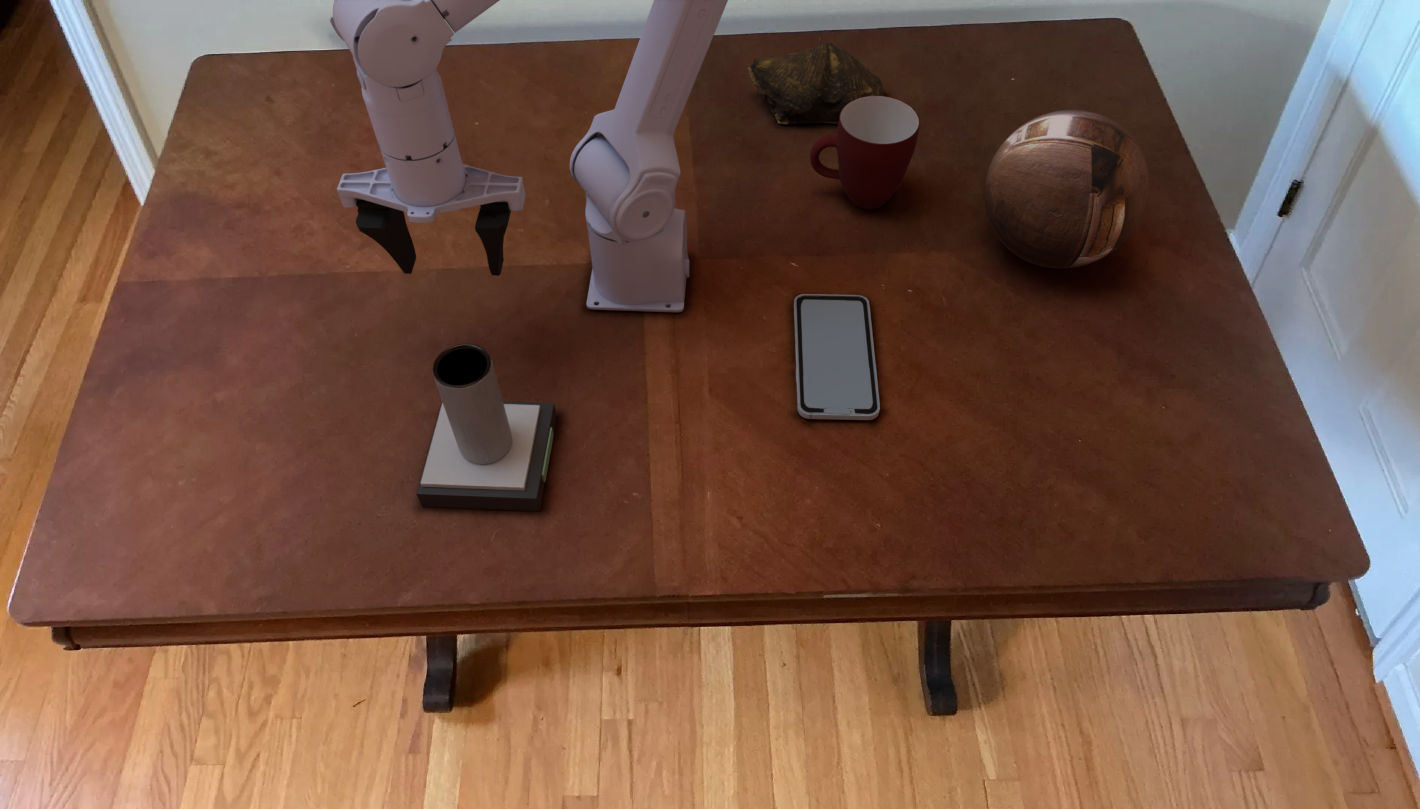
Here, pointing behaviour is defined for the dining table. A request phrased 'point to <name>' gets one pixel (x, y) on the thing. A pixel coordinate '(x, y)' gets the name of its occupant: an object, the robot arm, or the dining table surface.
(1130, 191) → the shiny copper ball
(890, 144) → the mug
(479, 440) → the gray cylinder
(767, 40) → the dining table surface
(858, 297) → the smartphone
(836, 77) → the seashell
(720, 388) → the dining table surface
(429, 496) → the scale
